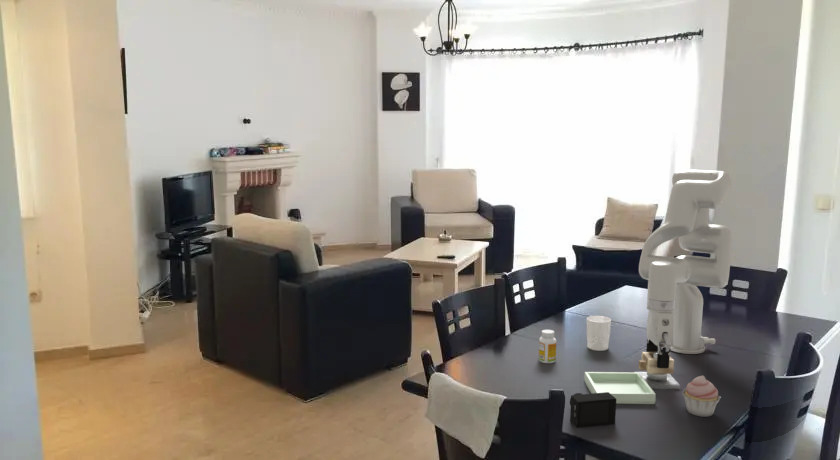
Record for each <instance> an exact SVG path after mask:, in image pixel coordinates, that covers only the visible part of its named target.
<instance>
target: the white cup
mask: <svg viewBox="0 0 840 460" xmlns="http://www.w3.org/2000/svg"><path fill="white" fill-rule="evenodd" d="M611 324H612V319H611V318H610V317H607V316H603V315H590V316H587V317H586V340H587V341H586V342H587V345H586V346H587V348H588V349H589V350H592V351H597V352H598V351H599V352H600V351H601V352H602V351H607V350H608V348H609V341H610V336H611V326H612V325H611Z"/></svg>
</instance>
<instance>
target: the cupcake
mask: <svg viewBox="0 0 840 460" xmlns="http://www.w3.org/2000/svg"><path fill="white" fill-rule="evenodd" d="M682 396H683V398H684V402H685V406H686V410H687V412H688V413H689V414H692V415H694V416H697V417H705V418H706V417H707V418H708V417H711V416H712V415H713V414H714V412H715V410H716V407H717V404H718V403H719V402H720V400H721V398H722V397H721V395H719V391H718V389H717V388H716V387H715V385H714V384H713V382H710V381H709V380H708V379H706V377H705V376H704V375H699V376H696V377H695V378H693V379H692V380H691V382H688V383H687V385H686V387H685V389H683V391H682Z"/></svg>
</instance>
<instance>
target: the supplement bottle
mask: <svg viewBox="0 0 840 460" xmlns="http://www.w3.org/2000/svg"><path fill="white" fill-rule="evenodd" d="M556 360H557V339H556V338H555V331H554V330H552V329H543V330H541V336H540V337H539V339H538V361H539V362H540V363H543V364H554V363H555V362H556Z"/></svg>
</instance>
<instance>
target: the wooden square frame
mask: <svg viewBox="0 0 840 460" xmlns="http://www.w3.org/2000/svg"><path fill="white" fill-rule="evenodd" d="M653 354H654V352H646V351H641V359H639V360H638V369H639V370H640V371H645V372H648V373H649V374H670V375H671V374H672V375H673V374H674V371H675V359H673V357H671V356H670V357H669V368H658V367H657V359H655V358H653Z"/></svg>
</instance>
